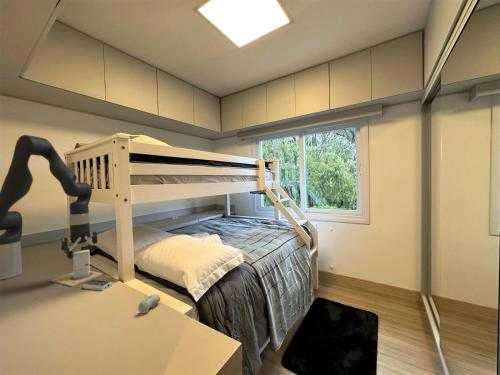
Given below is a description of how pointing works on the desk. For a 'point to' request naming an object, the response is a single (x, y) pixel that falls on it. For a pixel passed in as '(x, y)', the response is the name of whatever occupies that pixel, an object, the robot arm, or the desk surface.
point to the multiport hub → (97, 285)
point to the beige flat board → (75, 279)
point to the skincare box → (81, 263)
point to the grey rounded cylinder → (148, 303)
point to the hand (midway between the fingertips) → (80, 255)
